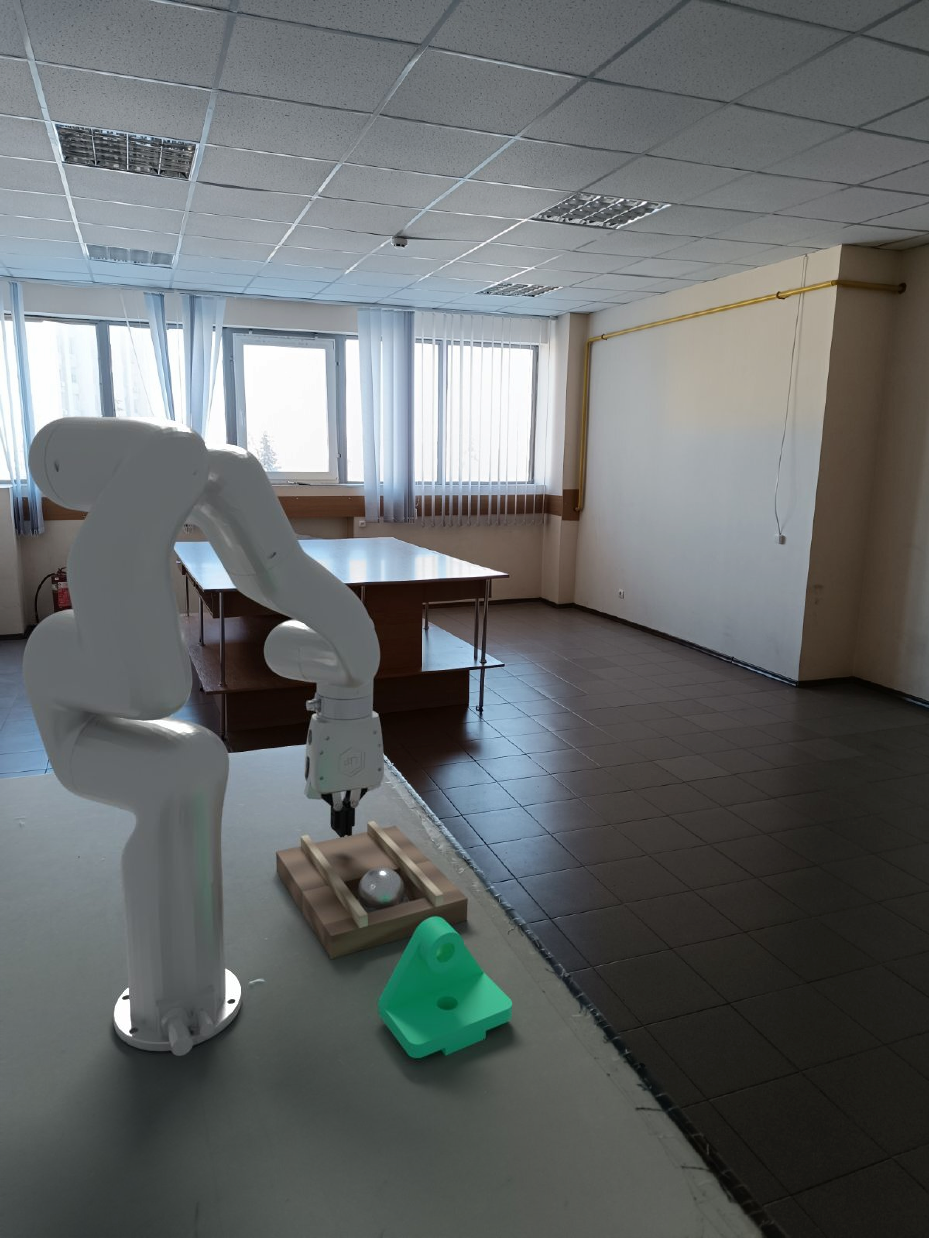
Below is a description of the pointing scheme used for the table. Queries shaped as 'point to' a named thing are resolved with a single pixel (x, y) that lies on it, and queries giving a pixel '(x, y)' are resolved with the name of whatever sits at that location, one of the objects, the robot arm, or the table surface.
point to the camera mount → (440, 994)
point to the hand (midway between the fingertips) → (342, 832)
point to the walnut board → (331, 882)
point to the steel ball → (380, 889)
